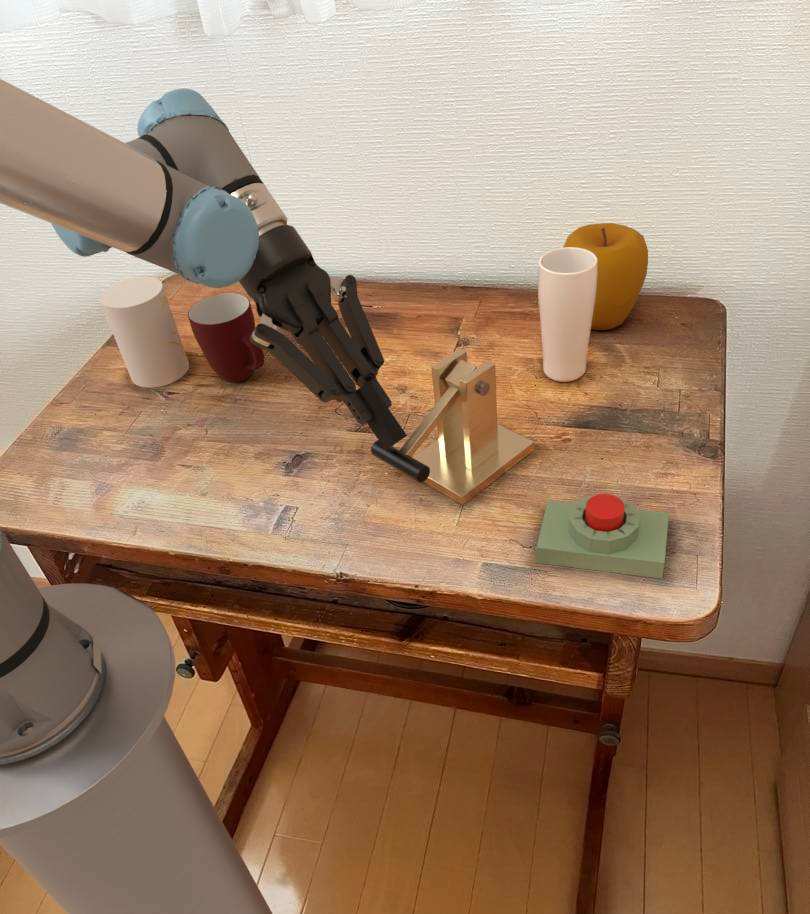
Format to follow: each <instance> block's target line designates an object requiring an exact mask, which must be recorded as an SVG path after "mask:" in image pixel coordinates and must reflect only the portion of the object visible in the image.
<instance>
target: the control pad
mask: <svg viewBox="0 0 810 914" xmlns="http://www.w3.org/2000/svg"><path fill="white" fill-rule="evenodd" d="M598 494H599V493H595V494H593V495H589V496H585V497H582V498H580V500H578V501H577V502H571V501H564V500H563V501H562V500H561V501H560V500H554V499H553V500H551V499H547V502H546V506H545V510H544V513H543V518H542V522H541V525H540V530H539V535H538V539H537V544H536V547H535V548H536V549H535V550H536V551H535V552H536V555H535V561H536V562H535V563H536V564H541V565H543V564H544V565H550V566H556V567H557V566H559V567H565V568H574V569H583V570H590V571H597V572H605V573H614V574H622V575H630V576H638V577H645V578H646V577H647V578H652V579H653V578H654V579H663V576H664V569H665V565H666V564H665V563H666V555H667V554H666V553H667V542H668V530H669V518H670V512H668V511H667V512H666V511H658V510H657V511H656V510H647V509H638V508H636V507H635V505H634V504H633V503H632V502H631V501H629V500H628V499H625V498H623V497H621V496H620V495H616V494H613V495H614V496H617V497H618V498H620V499H621V500H622V501H623V503H624V505H625V510H624V519H623V524H622V525H621V527H620V528H618V529H617V530H614V531H610V532H604V531H596V530H594V529H592V528H590V527H589V526H588V525H587V523H586V520H585V514H586V503H587V501H588V500H589V499H590V498H591V497H593V496H595V495H598Z"/></svg>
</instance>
